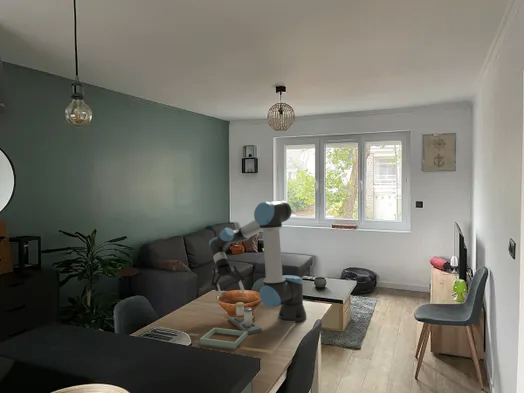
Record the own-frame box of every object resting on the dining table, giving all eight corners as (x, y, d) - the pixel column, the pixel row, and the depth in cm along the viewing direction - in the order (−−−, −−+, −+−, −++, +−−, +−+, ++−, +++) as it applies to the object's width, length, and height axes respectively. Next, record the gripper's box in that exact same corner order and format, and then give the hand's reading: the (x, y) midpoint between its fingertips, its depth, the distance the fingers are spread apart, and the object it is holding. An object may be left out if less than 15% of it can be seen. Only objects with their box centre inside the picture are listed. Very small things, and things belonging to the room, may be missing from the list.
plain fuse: (253, 327, 198) (253, 307, 197) (250, 330, 194) (250, 310, 194) (246, 326, 199) (245, 307, 199) (242, 329, 195) (242, 309, 195)
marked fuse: (245, 321, 207) (245, 302, 206) (242, 324, 203) (241, 305, 202) (238, 320, 208) (237, 301, 208) (234, 323, 204) (234, 304, 204)
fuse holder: (228, 321, 210) (228, 316, 210) (241, 318, 214) (241, 314, 214) (247, 336, 189) (246, 331, 189) (261, 333, 192) (261, 328, 192)
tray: (247, 337, 187) (247, 331, 187) (235, 349, 174) (235, 343, 174) (214, 333, 194) (214, 327, 194) (200, 344, 181) (200, 338, 181)
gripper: (239, 262, 234) (250, 293, 221) (199, 268, 223) (208, 300, 210) (242, 255, 229) (254, 286, 216) (202, 260, 218) (212, 293, 205)
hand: (232, 293), depth 213 cm, fingers open, 13 cm apart
